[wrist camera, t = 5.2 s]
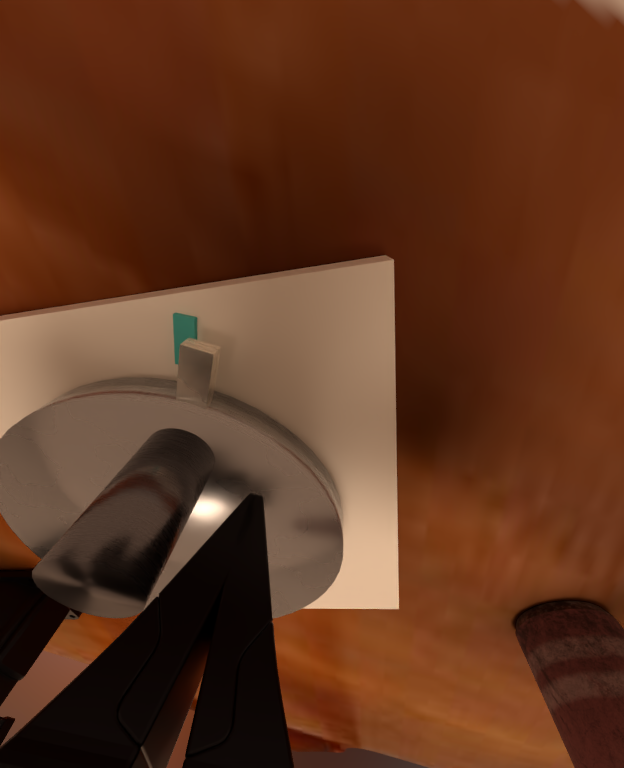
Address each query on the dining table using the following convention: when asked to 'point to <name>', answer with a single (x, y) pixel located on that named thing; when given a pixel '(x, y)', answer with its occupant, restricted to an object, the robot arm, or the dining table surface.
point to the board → (254, 380)
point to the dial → (162, 489)
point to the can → (579, 677)
